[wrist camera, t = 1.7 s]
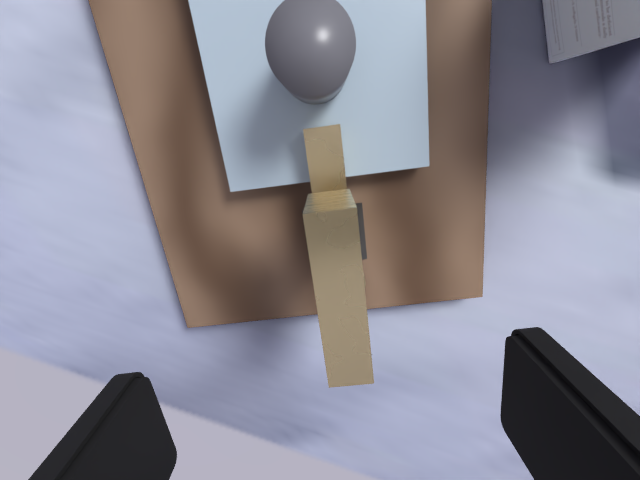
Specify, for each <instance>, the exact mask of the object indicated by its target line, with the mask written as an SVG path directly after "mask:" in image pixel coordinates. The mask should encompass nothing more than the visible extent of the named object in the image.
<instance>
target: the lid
mask: <svg viewBox="0 0 640 480" xmlns="http://www.w3.org/2000/svg"><path fill="white" fill-rule="evenodd" d="M188 1H189V6H190V10H191V15H192V19H193V24H194V28H195V33H196V38H197V42H198V47H199V51H200V56H201V60H202V65H203V69H204V74H205V78H206V83H207V87H208V92H209V96H210V101H211V106H212V110H213V115H214V119H215V124H216V128H217V133H218V137H219V142H220V146H221V151H222V155H223V160H224V165H225V169H226V174H227V178H228V183H229V187H230V192H234V191H242V190H250V189H258V188H265V187H273V186H281V185H288V184H296V183H304V182H310V176H309V169H308V162H307V155H306V148H305V141H304V134H303V129H307V128H314V127H322V126H329V125H336V124H340V127H341V137H342V146H343V156H344V165H345V175H346V177H350V176H358V175H366V174H373V173H381V172H389V171H396V170H404V169H412V168H420V167H427V166H429V126H428V83H427V40H426V0H188Z"/></svg>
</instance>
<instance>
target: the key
mask: <svg viewBox="0 0 640 480" xmlns="http://www.w3.org/2000/svg"><path fill="white" fill-rule="evenodd" d="M303 134H304V141H305V148H306V155H307V162H308V169H309V176H310V183H311V191H312V193H311V194H308V196H307V200H306V204H305V207H304V211H303V220H304V227H305V233H306V240H307V247H308V253H309V260H310V266H311V273H312V279H313V286H314V292H315V299H316V306H317V312H318V319H319V325H320V332H321V338H322V345H323V351H324V358H325V365H326V371H327V378H328V384H329V387H340V386H351V385H362V384H373V383H374V379H373V368H372V358H371V348H370V337H369V327H368V317H367V306H366V296H365V285H366V282H365V277H364V273H363V265H362V255H361V245H360V234H359V224H358V214H357V206H356V204H355V201H354V199H353V196H352V194H351V191H350V189H347V184H346V175H345V165H344V156H343V146H342V137H341V127H340V124H336V125H329V126H322V127H314V128H307V129H303Z"/></svg>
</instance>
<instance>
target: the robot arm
mask: <svg viewBox="0 0 640 480" xmlns="http://www.w3.org/2000/svg"><path fill="white" fill-rule="evenodd" d="M501 422H502V426H503V428H504V431H505V432H506V434H507V436H508V437H509V439H510V441H511V442H512V444H513V446H514V447H515V449H516V450H517V452H518V454H519V455H520V457H521V459H522V460H523V462H524V463H525V465H526V467H527V468H528V470H529V472H530V473H531V475H532V476H533V478H534V480H640V416H639V415H638V414H637V413H635V412H634V411H633V410H632V409H631V408H630V407H629V406H628V405H627V404H625V403H624V402H623V401H622V400H621V399H620V398H619V397H618V396H617V395H615V394H614V393H613V392H612V391H611V390H610V389H609V388H608V387H606V386H605V385H604V384H603V383H602V382H601V381H600V380H599V379H598V378H596V377H595V376H594V375H593V374H592V373H591V372H590V371H589V370H588V369H586V368H585V367H584V366H583V365H582V364H581V363H580V362H579V361H578V360H576V359H575V358H574V357H573V356H572V355H571V354H570V353H569V352H567V351H566V350H565V349H564V348H563V347H562V346H561V345H560V344H559V343H557V342H556V341H555V340H554V339H553V338H552V337H551V336H550V335H549V334H547V333H546V332H545V331H544V330H543V329H541V328H539V327H534V328H525V329H516V330H513V332H512V334H511V336H509V337H507V338H506V342H505V356H504V372H503V387H502V402H501ZM176 458H177V451H176V448H175V445H174V442H173V440H172V437H171V434H170V432H169V429H168V426H167V424H166V421H165V419H164V416H163V413H162V410H161V408H160V405H159V402H158V400H157V397H156V395H155V392H154V389H153V387H152V384H151V381H150V379H149V378H148V377H144V375H143V374H142V373H141V372H134V373H126V374H118V375H115V376H114V377H113V378H112V379H111V380H110V381H109V383H108V384H107V385H106V386H105V387H104V389H103V390H102V391H101V392H100V394H99V395H98V396H97V397H96V398H95V400H94V401H93V402H92V403H91V404H90V406H89V407H88V408H87V409H86V410H85V412H84V413H83V414H82V415H81V416H80V418H79V419H78V420H77V421H76V423H75V424H74V425H73V426H72V427H71V429H70V430H69V431H68V432H67V434H66V435H65V436H64V437H63V438H62V440H61V441H60V442H59V443H58V444H57V446H56V447H55V448H54V449H53V450H52V452H51V453H50V454H49V455H48V457H47V458H46V459H45V460H44V461H43V463H42V464H41V465H40V466H39V467H38V469H37V470H36V471H35V472H34V473H33V475H32V476H31V477H30V478H29V480H169V478H170V476H171V473H172V471H173V469H174V467H175V464H176Z"/></svg>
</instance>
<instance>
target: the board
mask: <svg viewBox="0 0 640 480" xmlns="http://www.w3.org/2000/svg"><path fill="white" fill-rule="evenodd" d="M88 1H89V4H90V7H91V10H92V14H93V17H94V20H95V24H96V27H97V30H98V34H99V37H100V40H101V43H102V47H103V50H104V53H105V57H106V60H107V63H108V66H109V70H110V73H111V76H112V80H113V83H114V86H115V90H116V93H117V96H118V99H119V103H120V106H121V109H122V113H123V116H124V119H125V123H126V126H127V129H128V132H129V136H130V139H131V142H132V146H133V149H134V152H135V155H136V159H137V162H138V165H139V169H140V172H141V175H142V179H143V182H144V185H145V188H146V192H147V195H148V198H149V202H150V205H151V208H152V212H153V215H154V218H155V221H156V225H157V228H158V231H159V235H160V238H161V241H162V244H163V248H164V251H165V254H166V258H167V261H168V264H169V268H170V271H171V274H172V277H173V281H174V284H175V287H176V291H177V294H178V297H179V301H180V304H181V307H182V310H183V314H184V317H185V320H186V324H187V327H188V328H191V327H201V326H210V325H220V324H229V323H239V322H248V321H258V320H267V319H277V318H286V317H296V316H305V315H315V314H318V312H317V306H316V299H315V292H314V286H313V279H312V273H311V266H310V260H309V253H308V247H307V240H306V233H305V227H304V220H303V211H304V207H305V204H306V200H307V196H308V194H311V193H312V191H311V183H310V182H304V183H296V184H288V185H281V186H273V187H265V188H258V189H250V190H242V191H234V192H230V187H229V183H228V178H227V174H226V169H225V165H224V160H223V155H222V151H221V146H220V142H219V137H218V133H217V128H216V124H215V119H214V115H213V110H212V106H211V101H210V96H209V92H208V87H207V83H206V78H205V74H204V69H203V65H202V60H201V56H200V51H199V47H198V42H197V38H196V33H195V28H194V24H193V19H192V15H191V10H190V6H189V1H188V0H88ZM491 10H492V0H426V40H427V83H428V126H429V166H427V167H420V168H412V169H404V170H396V171H389V172H381V173H373V174H366V175H358V176H350V177H346V184H347V189H350V191H351V194H352V196H353V199H354V201H355V204H356V206H357V214H358V224H359V234H360V245H361V255H362V265H363V273H364V277H365V282H366V285H365V296H366V306H367V309H372V308H381V307H390V306H400V305H409V304H419V303H428V302H438V301H447V300H457V299H466V298H476V297H482V294H483V263H484V231H485V200H486V168H487V136H488V105H489V73H490V42H491Z"/></svg>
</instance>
